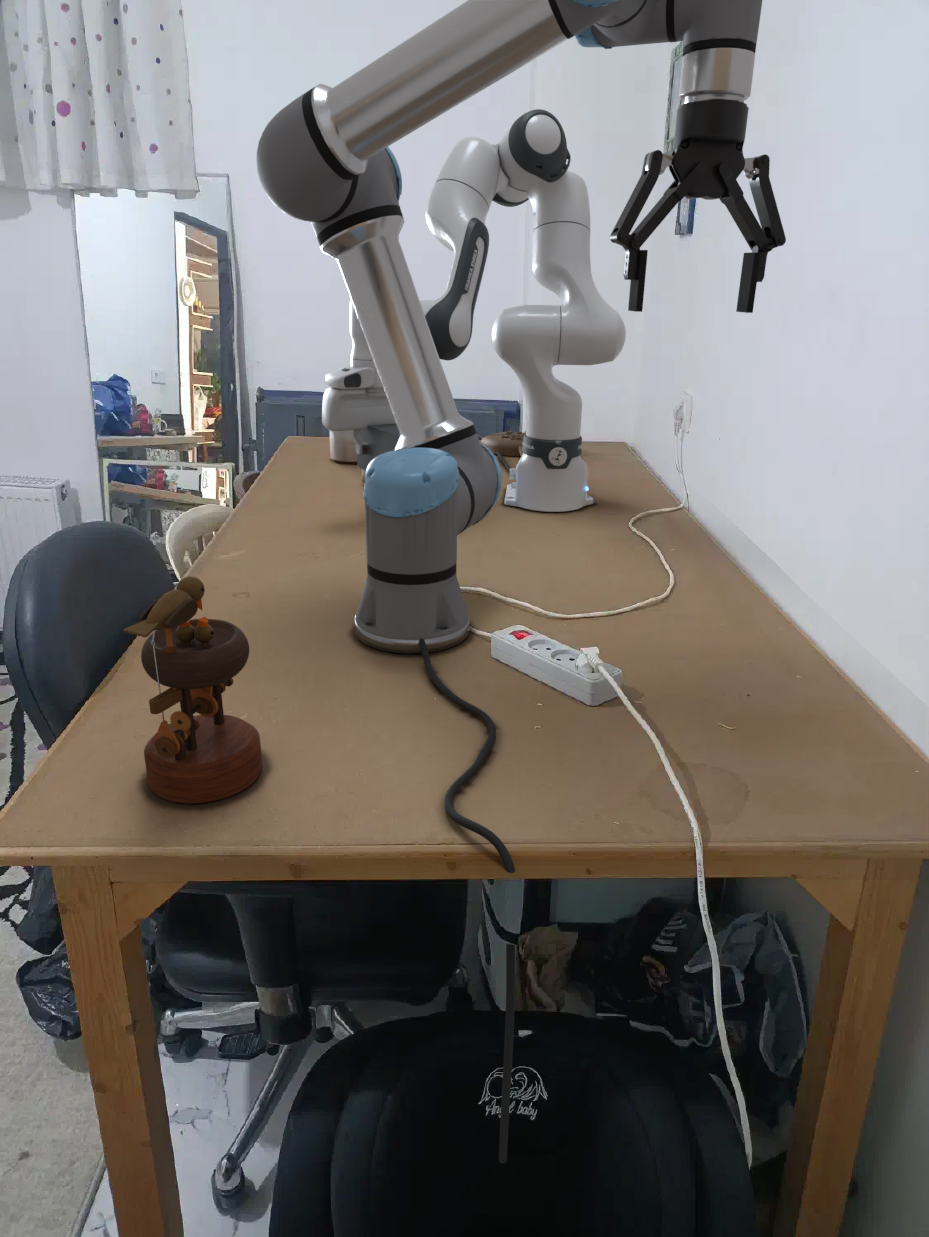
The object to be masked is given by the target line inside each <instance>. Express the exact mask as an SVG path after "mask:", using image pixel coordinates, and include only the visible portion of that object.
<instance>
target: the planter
mask: <svg viewBox="0 0 929 1237" xmlns="http://www.w3.org/2000/svg"><path fill="white" fill-rule="evenodd" d="M329 453H330V454H329V455H330V456H329V457H330V459H331V460H332V461H333V462H335V463H341V464H357V453H356V444H355V443H354V441H353V439H352V438H351V436H350V435H349V430H346V431H330V430H329Z"/></svg>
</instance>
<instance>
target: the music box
mask: <svg viewBox="0 0 929 1237" xmlns="http://www.w3.org/2000/svg"><path fill="white" fill-rule="evenodd" d="M205 590H206V589H205V585H204V583H203V581H202V580H201V579H200V578H198V577H196V576H191V575H190V576H184V577H182V578H181V579H180V580H179V581H178V583H177V584H176V589H172V590H169V591H168V592H166V593H162V594H160V595H159V596H157V598H155V599H154V600H153V601H152V602H151V603H150V604H149V605H148V606H147V607H146V608H145V609H144V611H143V612H142V613H140V616H139V617H138V621H139V622H137V623H134V624H132V625H130V626H128V627H125V628H123V630H122V631H123V633H124V634H129V635H134V636H138V637H142V638H146V639H145V641H144V643H143V645H142V648H141V651H140V652H141V653H140V659H141V664H142V667H143V670H144V671H145V673H146V674H147V675H148V676H149V677H150V678H151V679H152V680H153V681H154V682H156V683H157V687H158V694H157V695H155V696H153V697H151V698H150V699H148V705H149V712H150V714H151V715H159V714H161V717H162V721H161V722H160V723H159V725H158V726H159V727H158V729H157V732H156V733H155V734H154V735H152V736H151V737H150V739H149V740H148V741H147V743H146V744H145V746H144V748H143V758H144V764H145V770H146V777H147V784H148V787H149V788H150V790H151V791H152V792H153V793H154V795H157V796H158V797H160V798H161V799H164V800H166V801H167V800H168V801H169V802H174V803H179V804H180V803H181V804H200V803H209V802H215V801H219V800H222V799H226V798H229V797H231V796H234V795H236V794H238V793H241V791H243V790H245V789H247V788H249V787H250V786H251V785H252V784H254V782H256V780H257V779H259V777H260V774H261V773H262V769H263V758H262V748H261V736H260V732H259V731H258V729H257V728H256V727H255V726H254V725H253V724H251V723H250V722H247V721H246V720H244V719H243V718H240V717H237V716H233V715H229V714H224V705H223V696H222V695H223V693H224V692H225V691H226V689H227V688H226V687H232V686H233V684H234V680H233V678H235V677H236V676H238V674H239V673H240V672H242V670H243V669H244V668H245V666H246V664H247V662H248V660H249V657H250V643H249V641H248V638H247V636H246V634H245V632H243V631H242V629H241V628H240V627H238V626H237V625H235V624H234V623H232V622H229V621H227V620H221V619H216V618H214V619H213V618H207V617H206V616H202V617H201V618H193V617H194V616H196V615H197V612H198V610H200V611H203V602H202V599H203V597H204V595H205ZM192 618H193V619H192ZM161 685H162V686H164V687H168V689H165V690H164V691H161ZM178 703H179V706H180V710H176V711H174V712H172V713H171V715H170V717H169V720H170V723H169V722H168V721H167V720H165V712H164V711H167V710H169V709H170V708H171V707H173V706H175V705H176V704H178ZM195 713H196V714H197V715H194V714H195Z"/></svg>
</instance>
